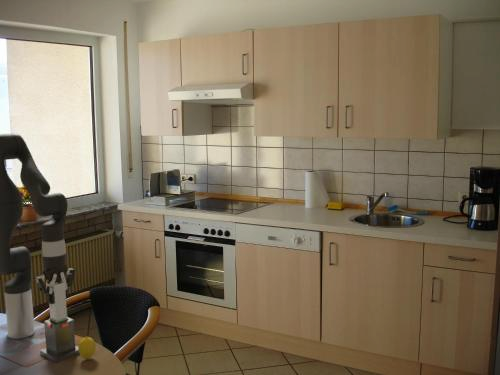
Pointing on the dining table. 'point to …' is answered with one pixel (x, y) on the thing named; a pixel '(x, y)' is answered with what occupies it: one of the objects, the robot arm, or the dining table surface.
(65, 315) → the column
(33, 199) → the robot arm
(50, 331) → the stand base
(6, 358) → the dining table surface
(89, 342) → the lemon
